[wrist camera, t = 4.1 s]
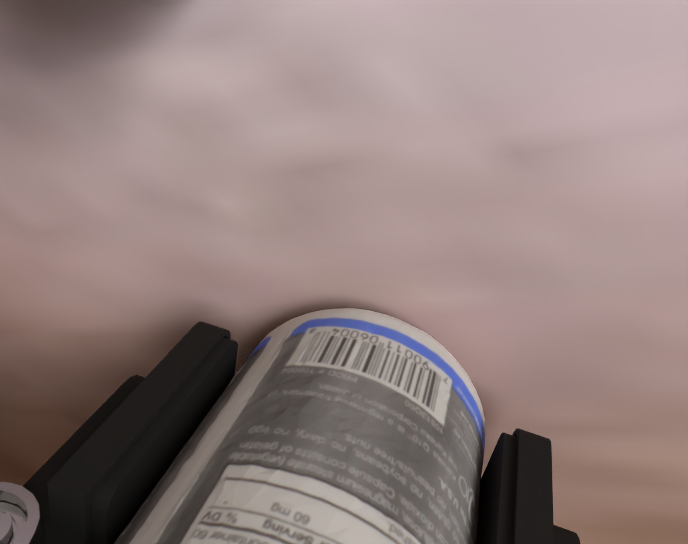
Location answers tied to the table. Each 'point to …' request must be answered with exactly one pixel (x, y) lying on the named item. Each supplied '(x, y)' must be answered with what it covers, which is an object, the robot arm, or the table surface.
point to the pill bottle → (329, 444)
